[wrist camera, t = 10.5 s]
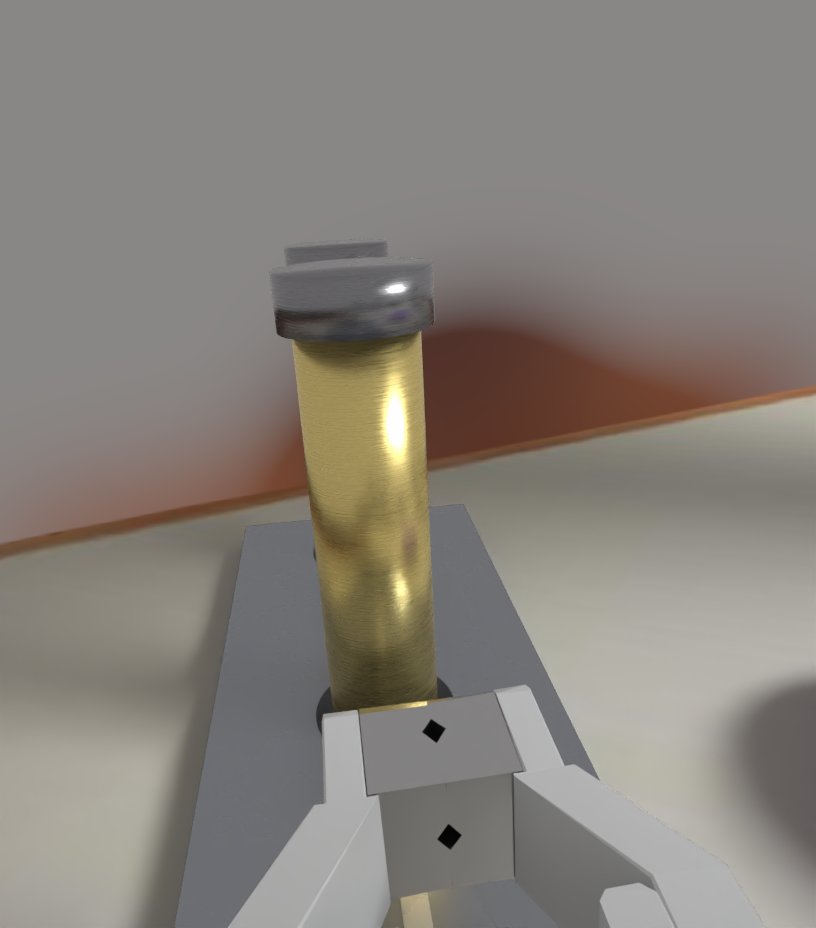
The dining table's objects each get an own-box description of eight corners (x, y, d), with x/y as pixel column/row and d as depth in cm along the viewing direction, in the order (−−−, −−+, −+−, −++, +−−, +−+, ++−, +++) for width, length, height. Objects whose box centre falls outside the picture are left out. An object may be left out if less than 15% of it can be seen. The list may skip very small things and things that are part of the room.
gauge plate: (249, 545, 40) (246, 525, 39) (463, 523, 41) (463, 503, 41) (114, 1378, 12) (98, 1341, 11) (795, 1232, 13) (804, 1192, 13)
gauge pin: (320, 671, 27) (273, 263, 21) (437, 657, 27) (419, 253, 22) (322, 759, 23) (264, 281, 17) (460, 740, 23) (445, 268, 18)
